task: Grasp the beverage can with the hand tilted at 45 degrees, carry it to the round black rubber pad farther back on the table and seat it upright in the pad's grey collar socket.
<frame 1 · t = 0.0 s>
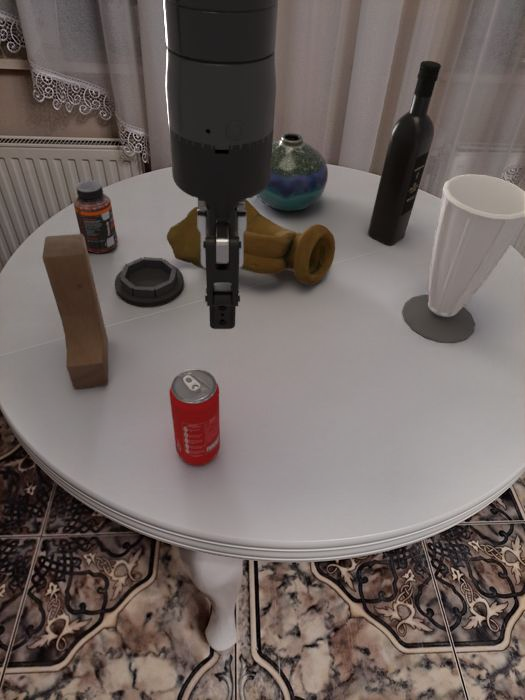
hand: (222, 295, 48), 22 cm above the table, tool pointing down, fingers open, 8 cm apart
wine bottle: (385, 236, 98), on the table
supplement bottle: (101, 246, 91), on the table
cup: (437, 319, 81), on the table
brown looped sculpture: (250, 268, 88), on the table
socket pad: (150, 285, 83), on the table
wooden block: (91, 364, 71), on the table
beverage can: (198, 451, 62), on the table
vase: (285, 202, 105), on the table
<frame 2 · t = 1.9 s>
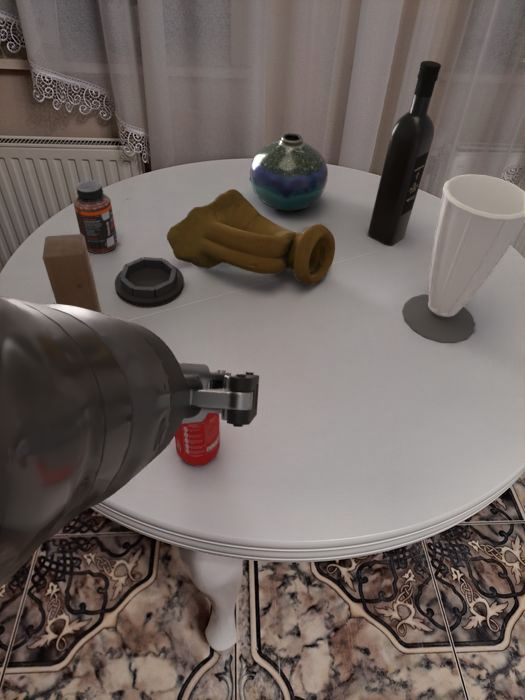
hand: (160, 383, 36), 25 cm above the table, tool tilted 45°, fingers open, 8 cm apart
nothing on the table moved.
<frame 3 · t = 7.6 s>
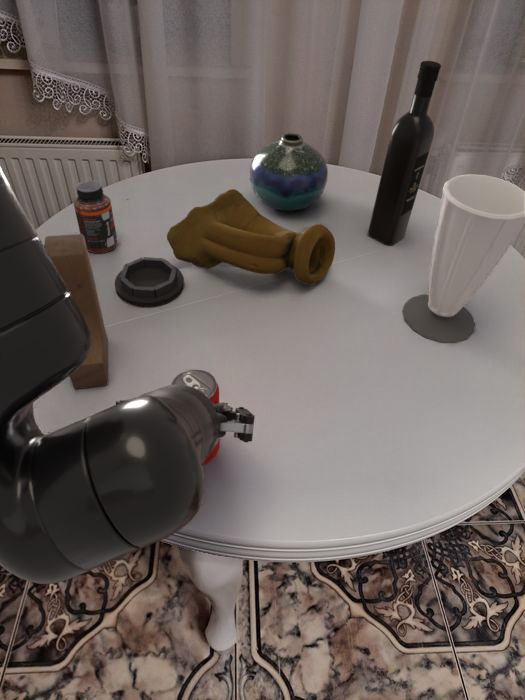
hand: (198, 409, 59), 6 cm above the table, tool tilted 45°, fingers closed on beverage can, 5 cm apart
beverage can: (198, 451, 62), on the table, touching gripper
everything else where it was.
when the fingers open (7 cm above the table, at t = 17.9 s): beverage can stays where it is, resting on socket pad.
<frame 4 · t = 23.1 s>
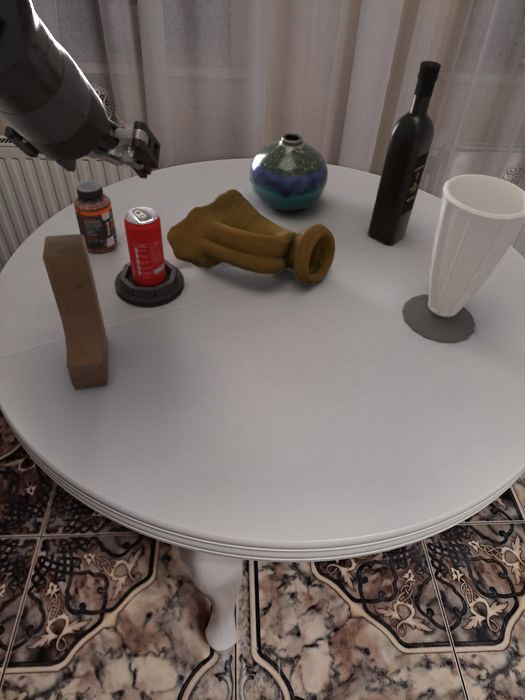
hand: (108, 166, 59), 25 cm above the table, tool tilted 45°, fingers open, 8 cm apart
beverage can: (150, 282, 82), point 1 cm above the table, touching socket pad
everything else where it was.
at the end: beverage can 0.2 cm off-centre on the socket pad, point 0.8 cm above the socket pad's base; beverage can tilted 0°; the gripper is holding nothing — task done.
